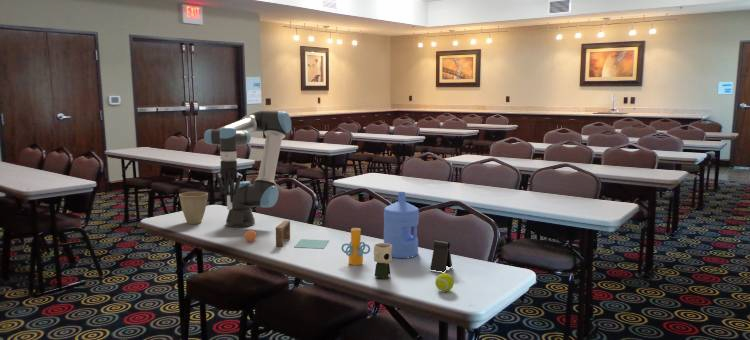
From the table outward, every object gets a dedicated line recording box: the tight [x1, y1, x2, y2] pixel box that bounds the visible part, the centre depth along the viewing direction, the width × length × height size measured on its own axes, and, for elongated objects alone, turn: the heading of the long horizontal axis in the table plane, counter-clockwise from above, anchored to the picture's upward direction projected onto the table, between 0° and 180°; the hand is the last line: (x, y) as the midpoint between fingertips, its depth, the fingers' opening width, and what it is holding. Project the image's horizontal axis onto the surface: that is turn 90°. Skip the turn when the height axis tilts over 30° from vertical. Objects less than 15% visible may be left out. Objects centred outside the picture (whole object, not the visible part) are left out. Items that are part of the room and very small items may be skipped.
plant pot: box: [178, 191, 209, 225], centre depth 306 cm, size 15×15×16 cm
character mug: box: [373, 242, 393, 279], centre depth 219 cm, size 11×7×13 cm, turn 146°
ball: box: [244, 229, 258, 243], centre depth 270 cm, size 6×6×6 cm
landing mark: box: [294, 238, 330, 250], centre depth 267 cm, size 14×14×1 cm
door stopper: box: [429, 239, 453, 272], centre depth 230 cm, size 9×6×12 cm, turn 149°
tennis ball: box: [434, 272, 455, 292], centre depth 205 cm, size 7×7×7 cm
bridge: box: [275, 220, 291, 248], centre depth 268 cm, size 3×14×9 cm, turn 174°
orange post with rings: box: [340, 227, 371, 266], centre depth 236 cm, size 12×10×15 cm
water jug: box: [383, 191, 420, 259], centre depth 250 cm, size 16×16×28 cm
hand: (229, 208), depth 269 cm, fingers closed
